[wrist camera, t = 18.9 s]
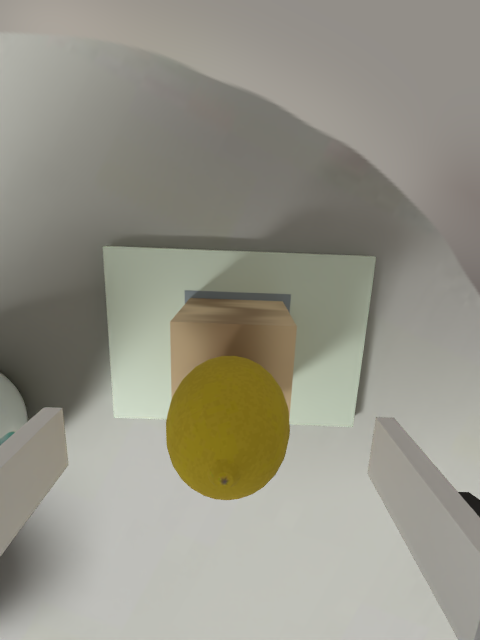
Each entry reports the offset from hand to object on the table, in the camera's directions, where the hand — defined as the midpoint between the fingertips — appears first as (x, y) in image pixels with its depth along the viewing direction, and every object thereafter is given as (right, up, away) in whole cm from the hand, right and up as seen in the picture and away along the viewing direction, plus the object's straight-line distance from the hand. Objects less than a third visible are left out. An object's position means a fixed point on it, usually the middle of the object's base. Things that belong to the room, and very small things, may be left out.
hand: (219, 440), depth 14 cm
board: (+1, +4, +13) cm, 14 cm away
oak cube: (+1, +3, +12) cm, 12 cm away
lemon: (0, +2, +5) cm, 6 cm away
